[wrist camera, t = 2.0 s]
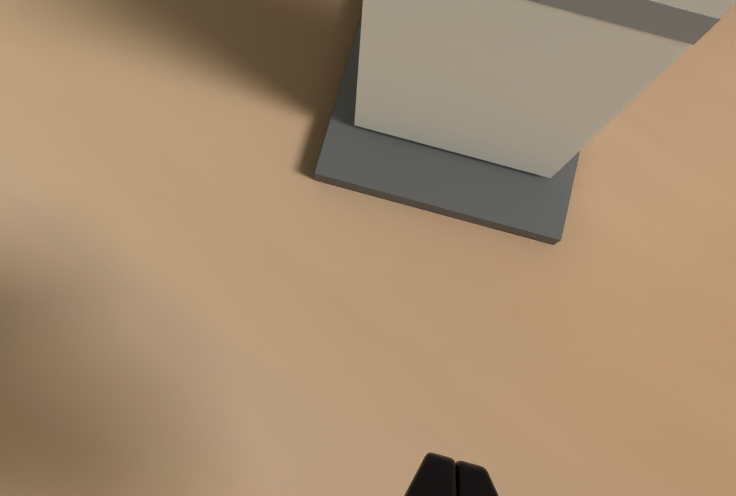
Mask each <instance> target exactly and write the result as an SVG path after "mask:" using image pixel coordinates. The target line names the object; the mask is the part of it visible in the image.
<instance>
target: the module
mask: <svg viewBox="0 0 736 496" xmlns="http://www.w3.org/2000/svg"><path fill="white" fill-rule="evenodd" d="M735 3H736V0H363V7H362V22H361V36H360V50H359V65H358V79H357V93H356V108H355V122H354V125H355V126H359V127H363V128H366V129H370V130H374V131H377V132H381V133H385V134H388V135H392V136H396V137H400V138H403V139H407V140H411V141H414V142H418V143H422V144H425V145H429V146H433V147H437V148H440V149H444V150H448V151H451V152H455V153H459V154H462V155H466V156H470V157H474V158H477V159H481V160H485V161H488V162H492V163H496V164H499V165H503V166H507V167H511V168H514V169H518V170H522V171H525V172H529V173H533V174H536V175H540V176H544V177H547V178H552V177H553V176H554V175H555V174H556V173H557V172H558V171H559V170H560V169H561V168H562V167H563V166H564V165H565V164H566V163H567V162H568V161H569V160H571V159H572V158H573V157H574V156H575V155H576V154H577V153H578V152H579V151H580V150H581V149H582V148H583V147H584V146H585V145H586V144H587V143H588V142H590V141H591V140H592V139H593V138H594V137H595V136H596V135H597V134H598V133H599V132H600V131H601V130H602V129H603V128H604V127H605V126H606V125H607V124H609V123H610V122H611V121H612V120H613V119H614V118H615V117H616V116H617V115H618V114H619V113H620V112H621V111H622V110H623V109H624V108H625V107H626V106H628V105H629V104H630V103H631V102H632V101H633V100H634V99H635V98H636V97H637V96H638V95H639V94H640V93H641V92H642V91H643V90H644V89H645V88H646V87H648V86H649V85H650V84H651V83H652V82H653V81H654V80H655V79H656V78H657V77H658V76H659V75H660V74H661V73H662V72H663V71H664V70H665V69H667V68H668V67H669V66H670V65H671V64H672V63H673V62H674V61H675V60H676V59H677V58H678V57H679V56H680V55H681V54H682V53H683V52H684V51H686V50H687V49H688V48H689V47H690V46H691V45H692V44H693V45H694V44H695V43H696V42H697V41H698V40H699V39H700V38H701V37H702V36H703V35H704V34H705V33H707V32H708V31H709V30H710V29H711V28H712V27H713V26H714V25H715V24H716V23H717V22H718V21H719V20H720V18H721V16H722V15H724V14H725V13H726V12H727V11H728V10H729V9H730V8H731V7H732V6H733V5H734V4H735Z"/></svg>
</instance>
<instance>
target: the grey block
mask: <svg viewBox="0 0 736 496" xmlns="http://www.w3.org/2000/svg"><path fill="white" fill-rule="evenodd" d="M361 22H362V15H361V19H360V22H359V25H358V29H357V32H356V35H355V39H354V42H353V45H352V49H351V52H350V56H349V59H348V62H347V66H346V69H345V72H344V76H343V79H342V82H341V86H340V89H339V92H338V96H337V99H336V103H335V106H334V109H333V113H332V116H331V119H330V123H329V126H328V129H327V133H326V136H325V139H324V143H323V146H322V150H321V153H320V156H319V160H318V163H317V166H316V170H315V173H314V174H315V180H317V181H320V182H324V183H328V184H331V185H335V186H339V187H342V188H346V189H350V190H353V191H357V192H361V193H364V194H368V195H372V196H376V197H379V198H383V199H387V200H390V201H394V202H398V203H401V204H405V205H409V206H412V207H416V208H420V209H423V210H427V211H431V212H435V213H438V214H442V215H446V216H449V217H453V218H457V219H460V220H464V221H468V222H471V223H475V224H479V225H483V226H486V227H490V228H494V229H497V230H501V231H505V232H508V233H512V234H516V235H519V236H523V237H527V238H530V239H534V240H538V241H542V242H545V243H549V244H553V245H554V244H556V243H557V242H559V241H561V238H562V233H563V228H564V224H565V219H566V214H567V209H568V205H569V200H570V195H571V190H572V186H573V181H574V176H575V171H576V167H577V162H578V157H579V152H580V151H579V152H578V153H577V154H576V155H575V156H574V157H573V158H572V159H571V160H569V161H568V162H567V163H566V164H565V165H564V166H563V167H562V168H561V169H560V170H559V171H558V172H557V173H556V174H555V175H554V176H553V177H552V178H547V177H544V176H540V175H536V174H533V173H529V172H525V171H522V170H518V169H514V168H511V167H507V166H503V165H499V164H496V163H492V162H488V161H485V160H481V159H477V158H474V157H470V156H466V155H462V154H459V153H455V152H451V151H448V150H444V149H440V148H437V147H433V146H429V145H425V144H422V143H418V142H414V141H411V140H407V139H403V138H400V137H396V136H392V135H388V134H385V133H381V132H377V131H374V130H370V129H366V128H363V127H359V126H355V125H354V122H355V108H356V93H357V79H358V65H359V50H360V36H361Z"/></svg>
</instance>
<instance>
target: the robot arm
mask: <svg viewBox="0 0 736 496" xmlns="http://www.w3.org/2000/svg"><path fill="white" fill-rule="evenodd" d="M404 496H498V494H497V492H496V489H495V487H494V485H493V483H492V480H491V478H490V476H489V474H488V472H487V470H486V469H485V468H484V467H481V466H478V465H475V464H471V463H468V462H464V461H457V462H456V463H455V461H454V460H453V459H452V458H449V457H446V456H442V455H438V454H435V453H428V454H426V456H425V457H424V459H423V461H422V463H421V465H420V467H419V469H418V471H417V473H416V474H415V476H414V478H413V480H412V482H411V484H410V486H409V488H408V490H407V492H406V493H405V495H404Z"/></svg>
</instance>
